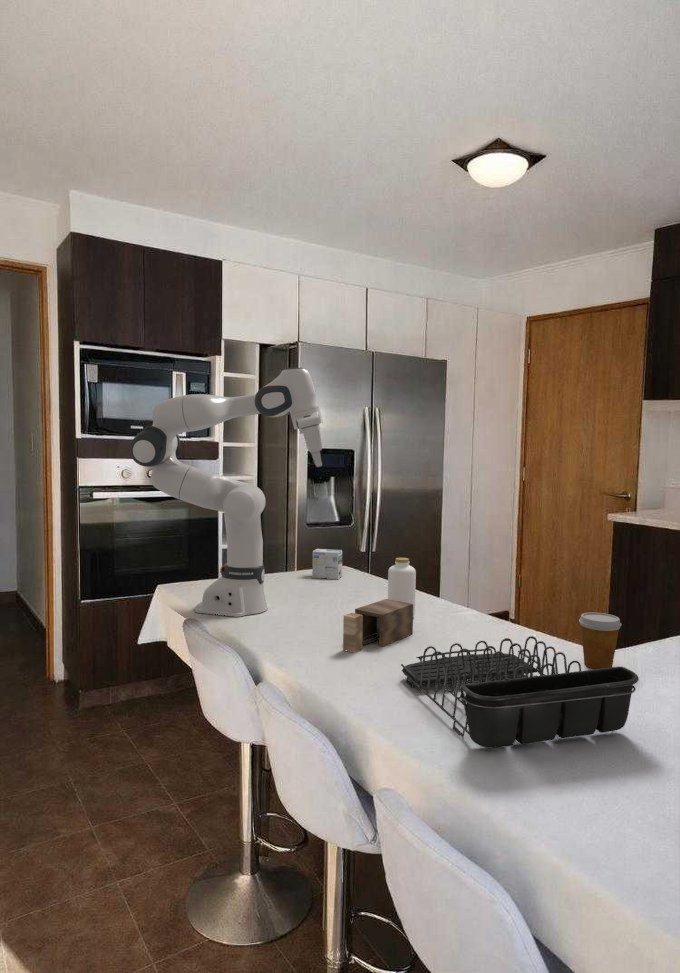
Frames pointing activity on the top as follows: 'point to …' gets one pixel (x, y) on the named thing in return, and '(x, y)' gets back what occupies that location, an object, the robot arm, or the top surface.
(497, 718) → the dish rack
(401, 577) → the potion bottle
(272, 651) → the top surface
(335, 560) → the light bulb box
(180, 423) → the robot arm
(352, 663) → the top surface
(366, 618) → the cubby
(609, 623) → the disposable coffee cup
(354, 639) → the tethered block
